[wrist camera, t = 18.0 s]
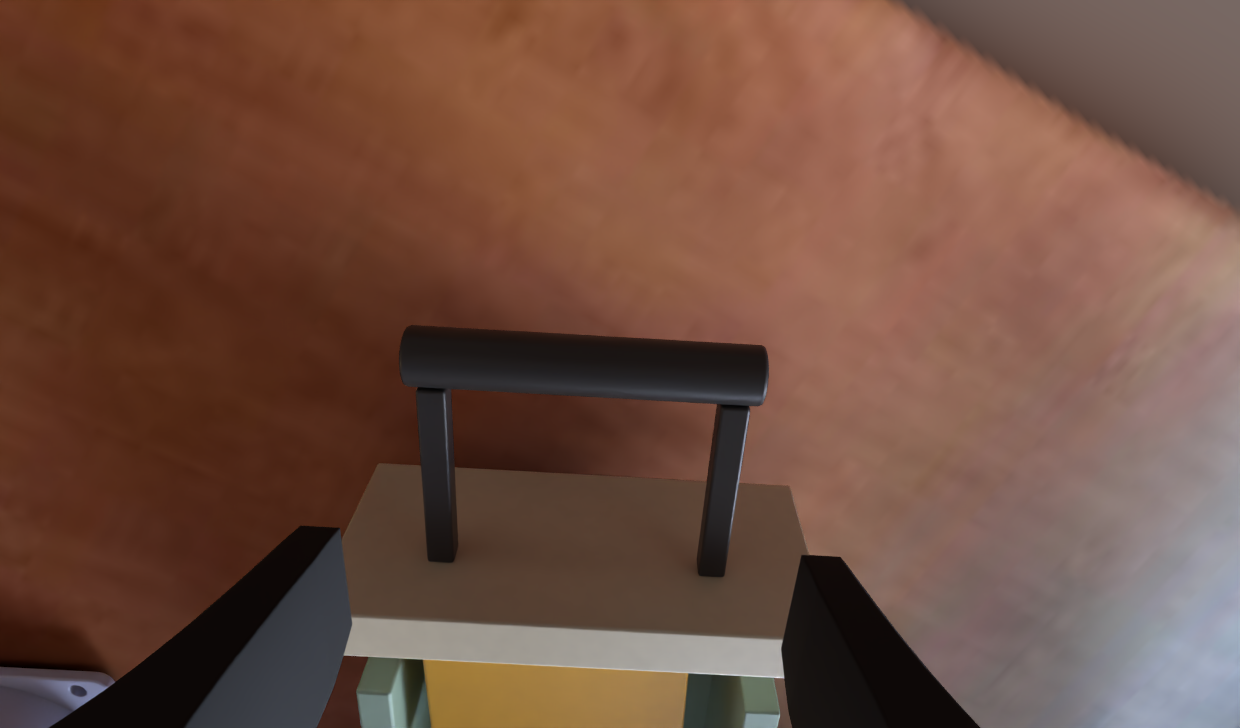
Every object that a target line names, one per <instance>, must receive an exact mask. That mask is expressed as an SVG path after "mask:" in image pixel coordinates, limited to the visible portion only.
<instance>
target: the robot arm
mask: <svg viewBox="0 0 1240 728" xmlns="http://www.w3.org/2000/svg"><path fill="white" fill-rule="evenodd" d="M351 627H352V618H351V610H350V603H349V595H348V587H347V579H346V571H345V564H344V556H343V548H342V540H341V533H340V528H332V527H315V526H300V527H299V528H297V529H296V530H295V531H294V532H293V533H291V534H290V535H289V536H288V537H287V538H286V539H285V540H284V541H282V542H281V543H280V544H279V545H278V546H277V547H276V548H275V549H274V550H272V551H271V552H270V553H269V554H268V555H267V556H266V557H265V558H264V559H263V560H262V561H260V562H259V563H258V564H257V565H256V566H255V567H254V568H253V569H252V570H251V571H249V572H248V573H247V574H246V575H245V576H244V577H243V578H242V579H241V580H239V581H238V582H237V583H236V584H235V585H234V586H233V587H232V588H230V589H229V590H228V591H227V592H226V593H225V594H224V595H222V596H221V597H220V598H219V599H218V600H217V601H215V602H214V603H213V604H212V605H211V606H210V607H209V608H207V609H206V610H205V611H204V612H203V613H202V614H200V615H199V616H198V617H197V618H196V619H195V620H194V621H192V622H191V623H190V624H189V625H188V626H186V627H185V628H184V629H183V630H182V631H180V632H179V633H178V634H177V635H175V636H174V637H173V638H172V639H170V640H169V641H168V642H166V643H165V644H164V645H163V646H161V647H160V648H159V649H158V650H156V651H155V652H154V653H153V654H151V655H150V656H149V657H148V658H146V659H145V660H144V661H143V662H141V663H140V664H139V665H138V666H136V667H135V668H134V669H132V670H131V671H130V672H128V673H127V674H126V675H124V676H123V677H122V678H120V679H119V680H118V681H116V682H115V681H114V680H113V678H112V677H110V676H109V675H107V674H105V673H102V672H92V671H72V670H53V669H33V668H14V667H0V728H317V726H318V723H319V721H320V719H321V716H322V714H323V712H324V709H325V707H326V705H327V702H328V700H329V698H330V695H331V693H332V690H333V688H334V685H335V682H336V679H337V675H338V672H339V669H340V666H341V662H342V659H343V656H344V652H345V649H346V645H347V642H348V638H349V635H350V631H351ZM781 653H782V662H783V671H784V680H785V688H786V695H787V703H788V710H789V715H790V720H791V724H792V728H980V727H979V726H978V725H977V724H976V723H975V721H974V720H973V719H972V718H971V717H970V716H969V715H968V714H967V713H966V712H965V711H964V710H963V708H962V707H961V706H960V705H959V704H958V703H957V702H956V701H955V700H954V699H953V697H952V696H951V695H950V694H949V693H948V692H947V691H946V690H945V689H944V687H943V686H942V685H941V684H940V683H939V682H938V680H937V679H936V678H935V677H934V676H933V675H932V673H931V672H930V671H929V670H928V669H927V667H926V666H925V665H924V664H923V663H922V661H921V660H920V659H919V658H918V657H917V655H916V654H915V653H914V652H913V650H912V649H911V648H910V647H909V646H908V644H907V643H906V642H905V641H904V640H903V638H902V637H901V636H900V634H899V633H898V632H897V631H896V629H895V628H894V627H893V626H892V624H891V623H890V622H889V620H888V619H887V618H886V616H885V615H884V614H883V613H882V611H881V610H880V609H879V607H878V606H877V605H876V603H875V602H874V601H873V599H872V598H871V597H870V595H869V594H868V593H867V591H866V590H865V589H864V587H863V586H862V585H861V583H860V582H859V581H858V579H857V578H856V577H855V575H854V574H853V573H852V571H851V570H850V568H849V567H848V566H847V565H846V563H845V562H844V561H843V560H842V558H841V557H832V556H815V555H801V559H800V564H799V568H798V573H797V577H796V582H795V587H794V591H793V596H792V600H791V605H790V610H789V614H788V619H787V623H786V628H785V633H784V637H783V642H782V646H781Z"/></svg>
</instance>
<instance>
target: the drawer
mask: <svg viewBox="0 0 1240 728" xmlns="http://www.w3.org/2000/svg"><path fill="white" fill-rule="evenodd" d="M399 370H400V376H401V380H402V382H403V384H404V385H406V386H408V387H418V388H417V390H416V405H417V419H418V433H419V447H420V461H421V465H402V464H384V463H379V464H378V465H377V467H376V469H375V471H374V473H373V475H372V477H371V479H370V481H369V483H368V485H367V487H366V490H365V492H364V494H363V496H362V498H361V500H360V502H359V504H358V506H357V508H356V510H355V513H354V515H353V517H352V519H351V521H350V523H349V525H348V527H347V529H346V531H345V533H344V535H343V538H342V548H343V556H344V564H345V571H346V579H347V587H348V595H349V603H350V610H351V618H352V627H351V631H350V635H349V638H348V642H347V645H346V649H345V652H344V655H347V656H366V657H368V660H367V663H366V666H365V668H364V671H363V674H362V677H361V679H360V682H359V685H358V687H357V690H356V694H357V701H358V709H359V716H360V723H361V728H431V723H430V715H429V707H428V699H427V691H426V682H425V674H424V666H423V659H424V660H444V661H463V662H482V663H502V664H521V665H540V666H560V667H579V668H598V669H618V670H637V671H656V672H676V673H688V683H687V694H686V704H685V715H684V725H683V728H777V726H778V721H779V717H780V709H779V704H778V698H777V693H776V688H775V683H774V678H784V671H783V662H782V653H781V646H782V642H783V637H784V633H785V628H786V623H787V619H788V614H789V610H790V605H791V600H792V596H793V591H794V587H795V582H796V577H797V573H798V568H799V564H800V559H801V555H809V551H808V548H807V544H806V541H805V537H804V534H803V530H802V527H801V523H800V520H799V516H798V513H797V509H796V505H795V502H794V498H793V495H792V491H791V488H790V486H783V485H765V484H747V483H739V480H740V473H741V467H742V461H743V454H744V448H745V441H746V435H747V428H748V422H749V416H750V408H749V406H760V405H762V404H763V402H764V399H765V397H766V393H767V387H768V378H769V361H768V354H767V351H766V348H765V347H764V346H762V345H748V344H731V343H713V342H696V341H679V340H661V339H644V338H627V337H609V336H592V335H575V334H557V333H540V332H523V331H505V330H488V329H471V328H453V327H436V326H419V325H411V326H408V327H407V328H406V329H405V331H404V333H403V336H402V339H401V344H400V351H399ZM451 389H460V390H478V391H496V392H513V393H531V394H549V395H566V396H584V397H602V398H619V399H637V400H655V401H672V402H690V403H708V404H717V408H716V416H715V423H714V431H713V438H712V446H711V453H710V461H709V468H708V476H707V481H692V480H674V479H656V478H638V477H620V476H602V475H584V474H566V473H547V472H529V471H511V470H493V469H475V468H457V467H455V463H454V442H453V421H452V399H451Z"/></svg>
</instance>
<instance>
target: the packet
mask: <svg viewBox="0 0 1240 728" xmlns="http://www.w3.org/2000/svg"><path fill="white" fill-rule="evenodd" d="M423 666H424V674H425V682H426V691H427V699H428V707H429V715H430V723H431V728H683V725H684V715H685V704H686V694H687V683H688V673H676V672H656V671H637V670H618V669H598V668H579V667H560V666H540V665H521V664H502V663H482V662H463V661H444V660H424V659H423Z"/></svg>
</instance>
